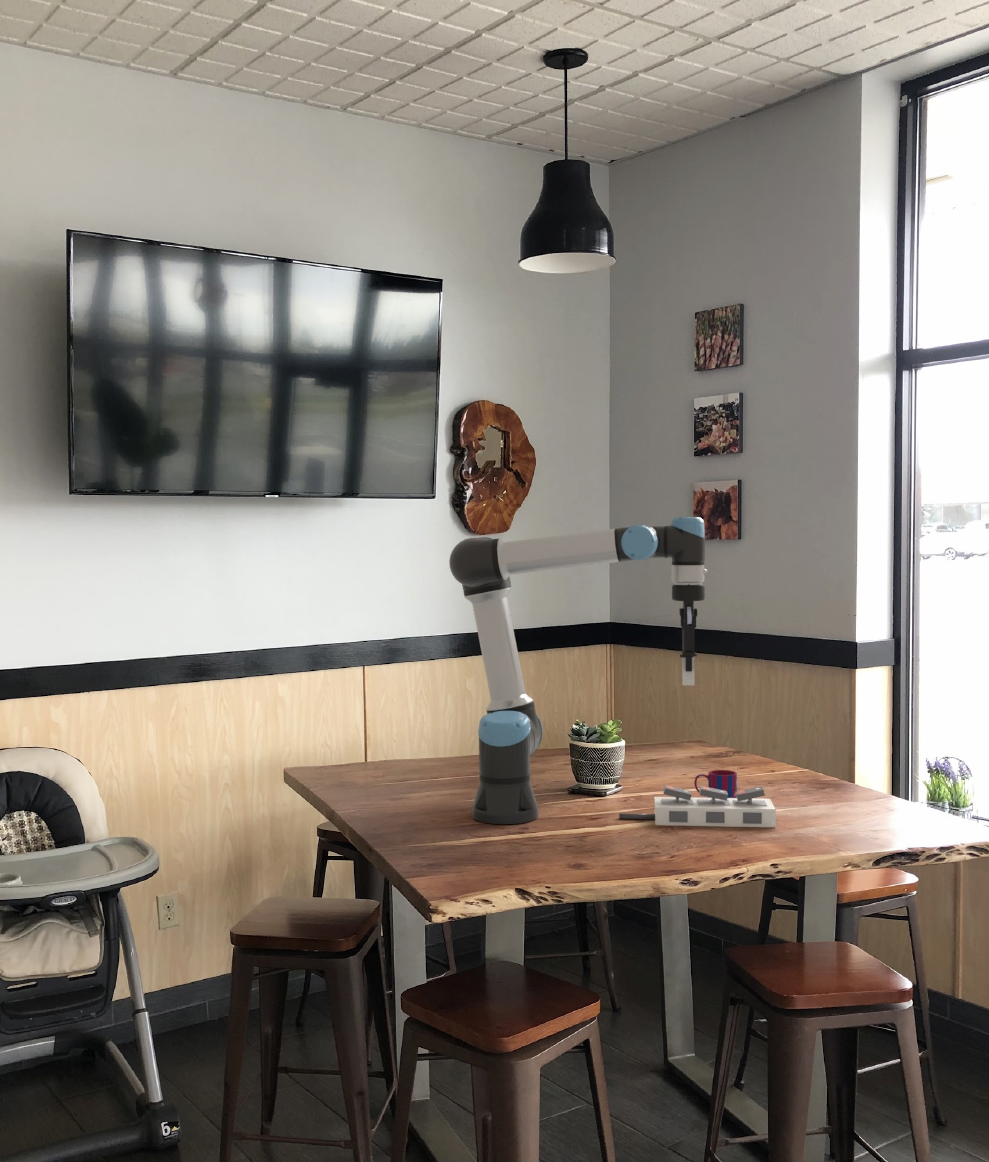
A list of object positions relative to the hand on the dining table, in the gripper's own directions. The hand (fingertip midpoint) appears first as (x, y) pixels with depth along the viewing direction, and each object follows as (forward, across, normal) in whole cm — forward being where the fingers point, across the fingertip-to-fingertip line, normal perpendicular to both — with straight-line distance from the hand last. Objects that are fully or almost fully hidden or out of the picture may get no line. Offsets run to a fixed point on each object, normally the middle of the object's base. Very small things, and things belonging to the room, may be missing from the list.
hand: (688, 684), depth 261 cm
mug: (+30, +10, -7) cm, 32 cm away
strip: (+29, -10, -1) cm, 31 cm away
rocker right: (+23, -10, -13) cm, 28 cm away
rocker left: (+23, -10, +3) cm, 25 cm away
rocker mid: (+23, -10, -5) cm, 25 cm away
